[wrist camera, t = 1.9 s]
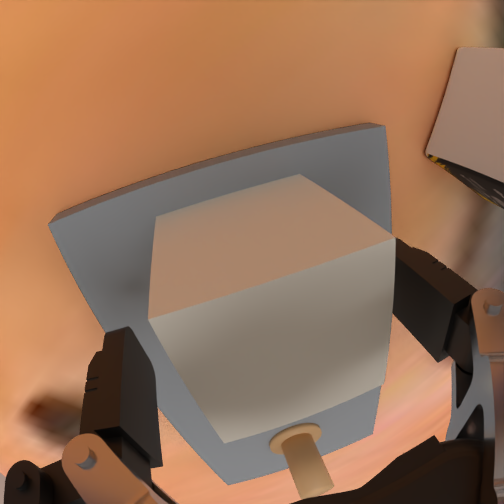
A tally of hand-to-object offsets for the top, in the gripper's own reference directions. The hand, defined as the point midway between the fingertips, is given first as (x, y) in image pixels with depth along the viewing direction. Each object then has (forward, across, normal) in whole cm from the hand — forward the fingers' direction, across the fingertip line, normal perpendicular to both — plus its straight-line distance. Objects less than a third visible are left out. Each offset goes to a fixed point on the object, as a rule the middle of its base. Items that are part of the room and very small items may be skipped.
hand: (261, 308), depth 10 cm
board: (+5, 0, +9) cm, 10 cm away
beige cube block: (+4, 0, 0) cm, 4 cm away
